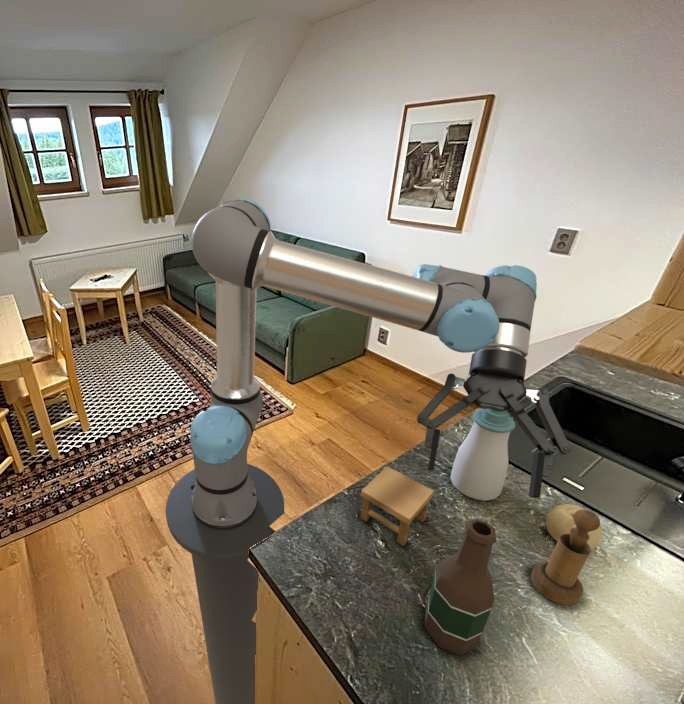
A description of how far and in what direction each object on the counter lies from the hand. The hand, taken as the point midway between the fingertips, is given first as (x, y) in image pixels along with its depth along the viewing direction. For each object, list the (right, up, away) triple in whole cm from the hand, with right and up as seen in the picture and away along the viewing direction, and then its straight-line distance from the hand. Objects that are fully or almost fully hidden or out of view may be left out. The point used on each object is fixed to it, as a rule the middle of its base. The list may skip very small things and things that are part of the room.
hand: (479, 482), depth 62 cm
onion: (+27, -16, +15) cm, 35 cm away
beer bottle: (-3, -25, +3) cm, 25 cm away
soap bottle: (+17, -10, +28) cm, 35 cm away
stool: (-4, -15, +22) cm, 27 cm away
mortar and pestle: (+18, -21, +7) cm, 28 cm away
